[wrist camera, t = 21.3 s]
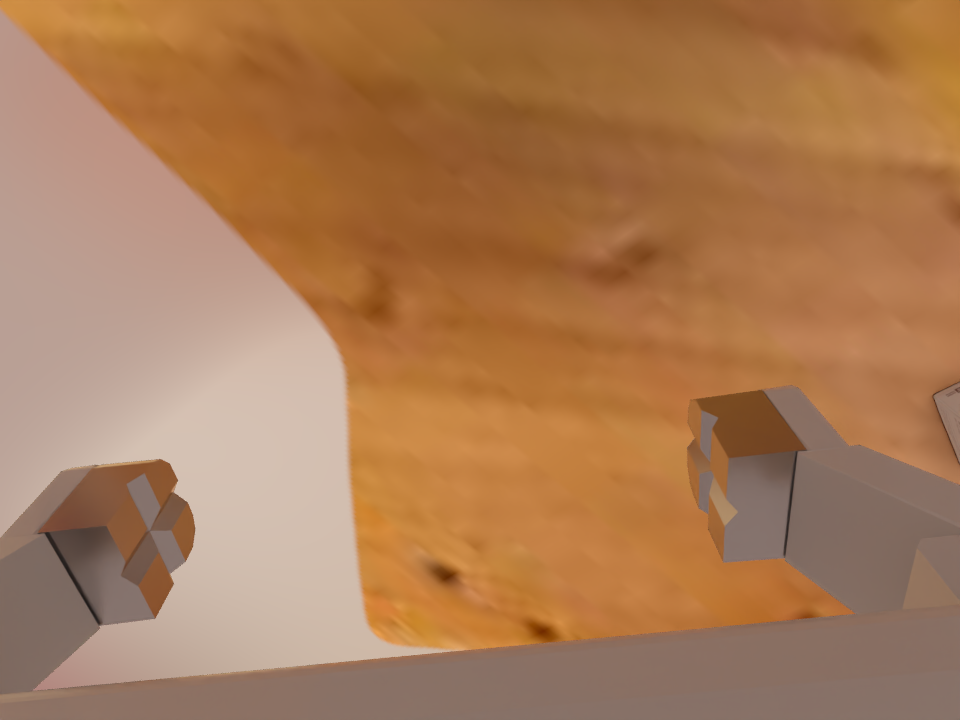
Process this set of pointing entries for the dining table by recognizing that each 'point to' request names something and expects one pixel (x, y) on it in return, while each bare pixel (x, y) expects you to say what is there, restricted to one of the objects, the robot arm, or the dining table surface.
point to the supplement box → (950, 413)
